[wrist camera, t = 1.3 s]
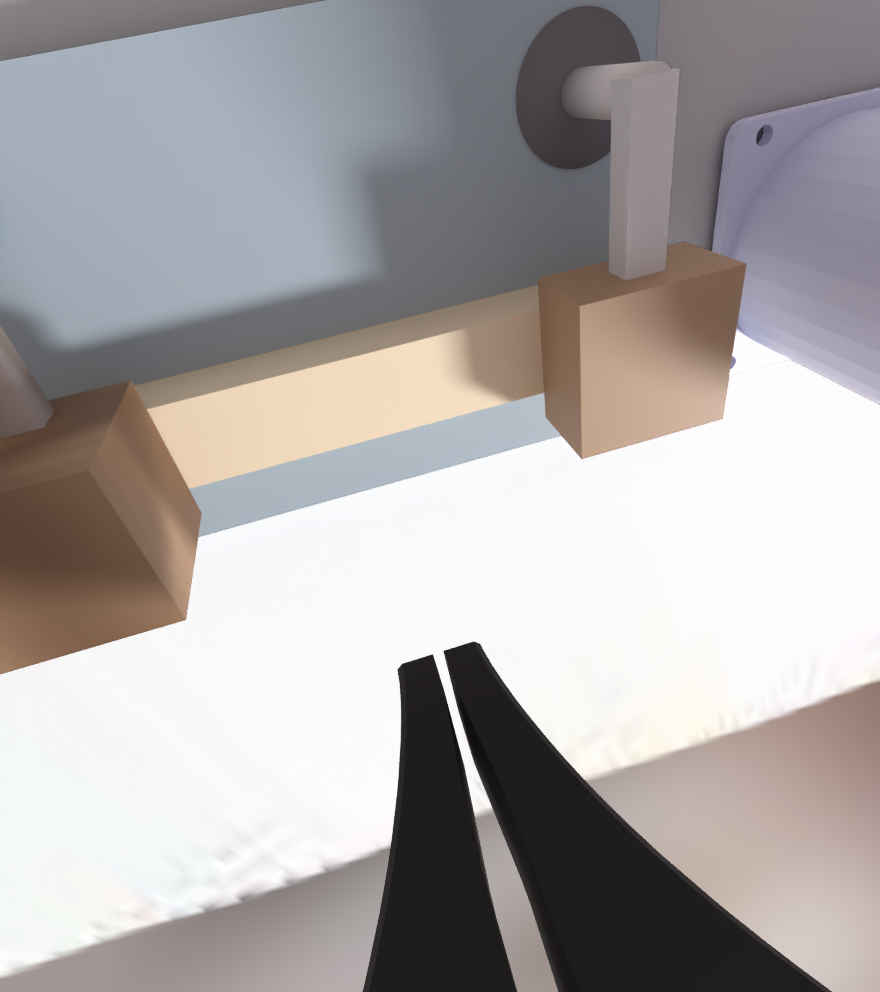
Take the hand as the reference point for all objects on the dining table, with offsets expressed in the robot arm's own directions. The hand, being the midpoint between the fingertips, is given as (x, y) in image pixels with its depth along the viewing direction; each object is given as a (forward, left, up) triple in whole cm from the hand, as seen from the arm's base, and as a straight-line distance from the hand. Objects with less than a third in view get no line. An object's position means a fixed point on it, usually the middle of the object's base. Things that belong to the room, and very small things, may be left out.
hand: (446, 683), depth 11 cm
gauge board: (+3, -5, -10) cm, 11 cm away
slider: (+7, -5, -8) cm, 12 cm away
